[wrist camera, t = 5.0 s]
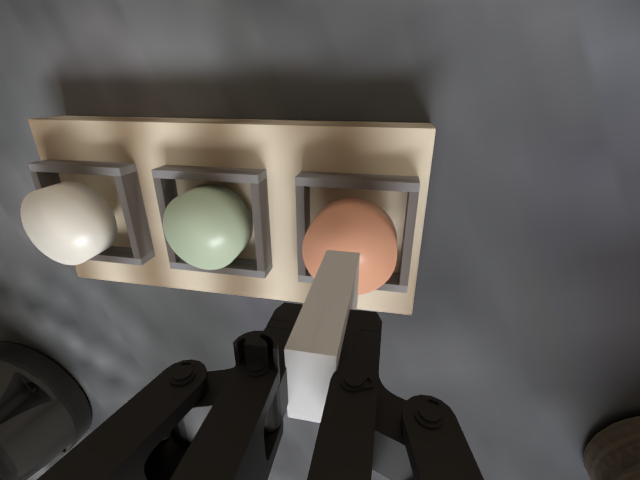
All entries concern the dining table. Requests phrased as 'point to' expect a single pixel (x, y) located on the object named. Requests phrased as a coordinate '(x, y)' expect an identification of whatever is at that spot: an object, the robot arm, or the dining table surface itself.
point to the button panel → (241, 192)
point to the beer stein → (615, 452)
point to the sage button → (208, 226)
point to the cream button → (68, 222)
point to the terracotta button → (354, 239)
